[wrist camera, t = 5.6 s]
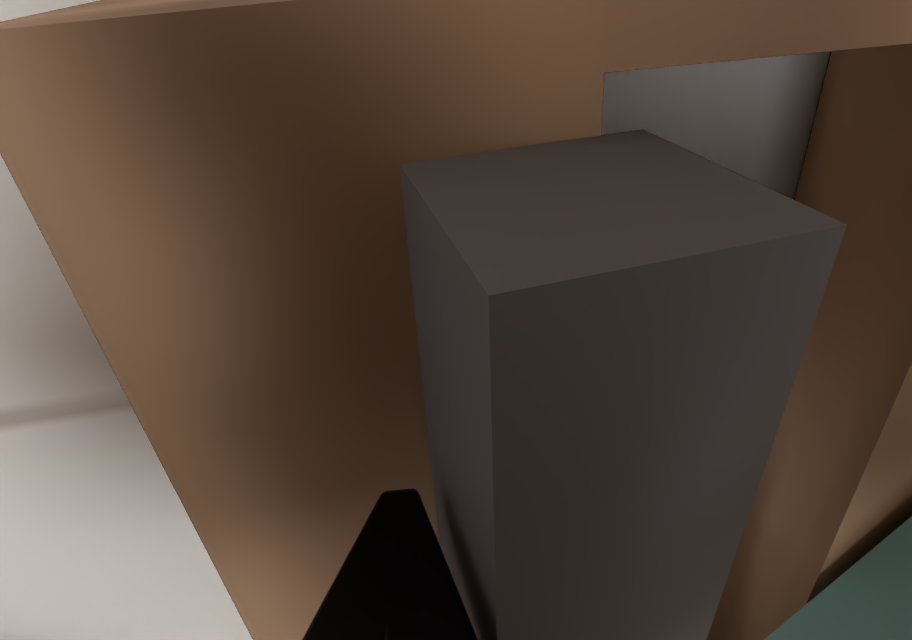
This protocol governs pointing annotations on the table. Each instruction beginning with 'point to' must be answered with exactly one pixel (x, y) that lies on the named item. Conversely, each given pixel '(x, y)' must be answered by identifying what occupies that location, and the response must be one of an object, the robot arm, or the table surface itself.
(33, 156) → the wooden box
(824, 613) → the duct cover
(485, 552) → the dark grey angular bar
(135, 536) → the table surface
